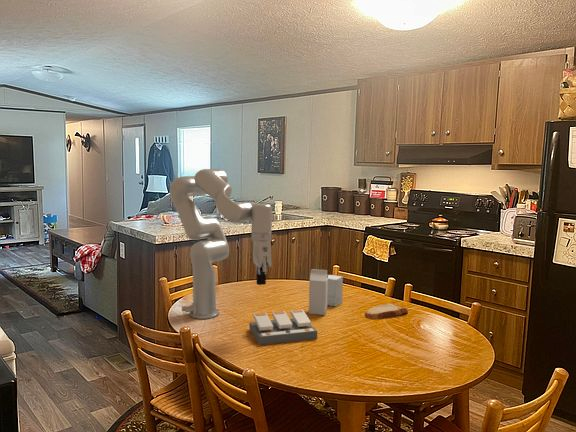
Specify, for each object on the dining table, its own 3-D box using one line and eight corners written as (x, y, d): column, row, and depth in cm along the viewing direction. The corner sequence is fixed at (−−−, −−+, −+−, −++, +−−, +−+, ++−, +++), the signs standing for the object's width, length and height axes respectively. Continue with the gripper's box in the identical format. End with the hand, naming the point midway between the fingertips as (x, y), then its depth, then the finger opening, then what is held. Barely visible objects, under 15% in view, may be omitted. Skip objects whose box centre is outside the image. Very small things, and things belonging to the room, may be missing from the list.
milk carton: (325, 315, 208) (326, 272, 206) (308, 314, 210) (309, 271, 207) (327, 310, 215) (328, 268, 213) (311, 309, 217) (312, 267, 214)
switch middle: (279, 328, 181) (279, 324, 180) (271, 315, 190) (272, 311, 189) (292, 327, 182) (292, 323, 182) (284, 314, 191) (284, 310, 191)
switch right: (298, 326, 183) (298, 323, 183) (290, 313, 192) (290, 309, 192) (310, 325, 185) (311, 321, 184) (302, 312, 194) (302, 308, 193)
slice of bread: (364, 319, 205) (364, 310, 205) (367, 306, 222) (367, 298, 222) (407, 323, 201) (408, 314, 200) (407, 310, 218) (408, 302, 218)
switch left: (259, 330, 178) (260, 326, 178) (253, 316, 187) (253, 313, 187) (272, 329, 180) (273, 325, 179) (265, 315, 189) (266, 311, 188)
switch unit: (260, 345, 175) (260, 333, 174) (249, 329, 190) (249, 319, 189) (317, 338, 181) (317, 327, 181) (302, 324, 196) (302, 314, 196)
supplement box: (342, 303, 227) (343, 276, 225) (335, 307, 220) (336, 279, 219) (328, 300, 230) (329, 274, 229) (321, 304, 224) (321, 277, 223)
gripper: (276, 239, 177) (276, 288, 179) (265, 233, 191) (265, 278, 193) (256, 240, 175) (256, 290, 177) (247, 233, 189) (246, 280, 191)
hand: (261, 284), depth 185 cm, fingers closed
